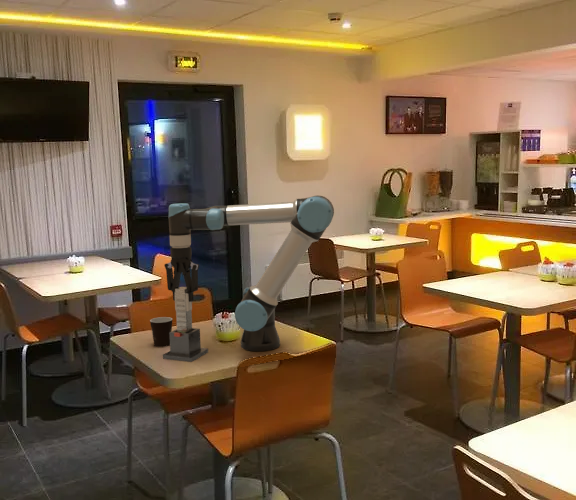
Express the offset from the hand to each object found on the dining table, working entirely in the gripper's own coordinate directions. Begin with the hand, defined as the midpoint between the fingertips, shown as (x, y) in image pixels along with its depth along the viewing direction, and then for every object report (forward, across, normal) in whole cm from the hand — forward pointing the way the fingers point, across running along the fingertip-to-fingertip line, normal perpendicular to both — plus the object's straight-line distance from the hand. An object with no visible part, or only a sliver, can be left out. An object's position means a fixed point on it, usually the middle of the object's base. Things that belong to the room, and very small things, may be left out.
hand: (183, 309), depth 226 cm
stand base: (+17, 0, 0) cm, 17 cm away
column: (+10, 0, 0) cm, 10 cm away
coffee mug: (+18, +17, -11) cm, 27 cm away
